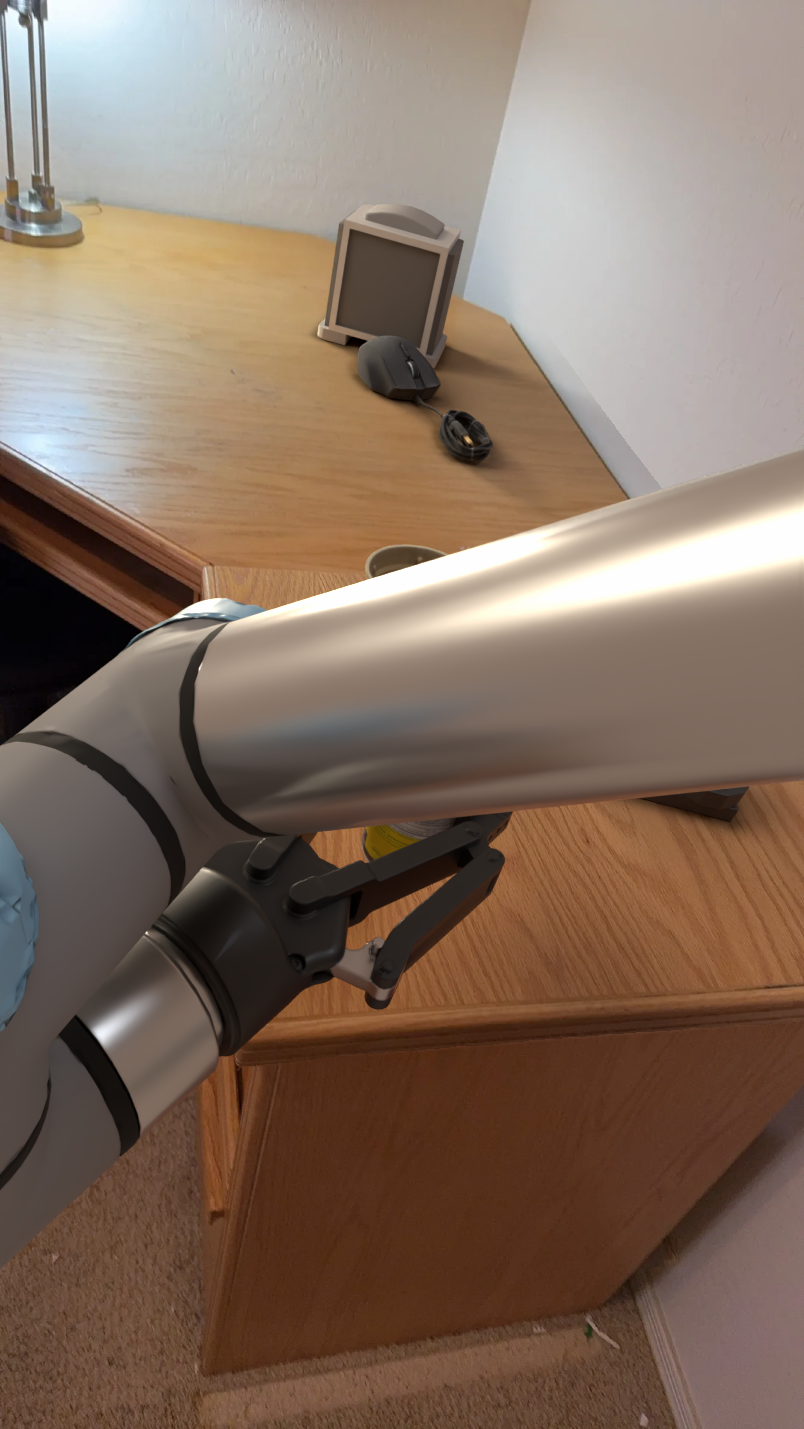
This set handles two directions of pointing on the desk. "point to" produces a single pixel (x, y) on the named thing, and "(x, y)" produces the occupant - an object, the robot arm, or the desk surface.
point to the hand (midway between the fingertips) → (479, 741)
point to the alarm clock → (392, 278)
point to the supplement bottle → (399, 836)
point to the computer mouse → (419, 391)
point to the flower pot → (398, 558)
